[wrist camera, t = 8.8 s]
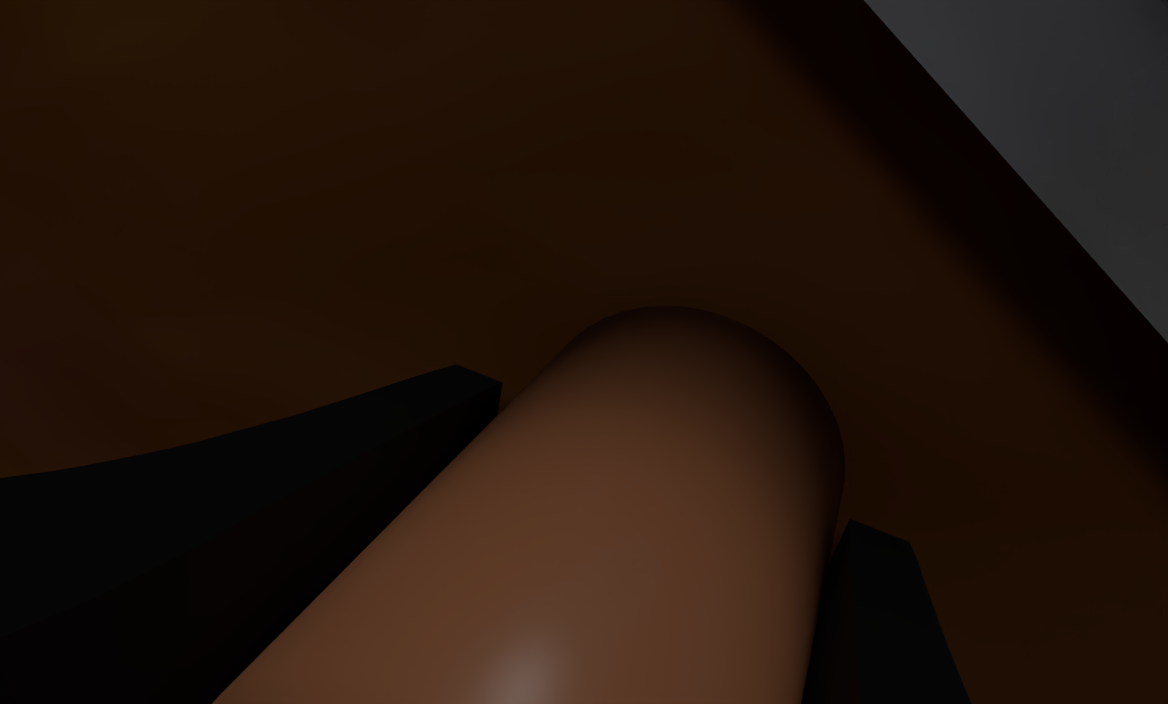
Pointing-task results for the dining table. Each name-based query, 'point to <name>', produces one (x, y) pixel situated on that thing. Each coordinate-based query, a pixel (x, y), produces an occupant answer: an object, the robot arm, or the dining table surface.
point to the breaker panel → (1066, 114)
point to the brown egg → (597, 540)
